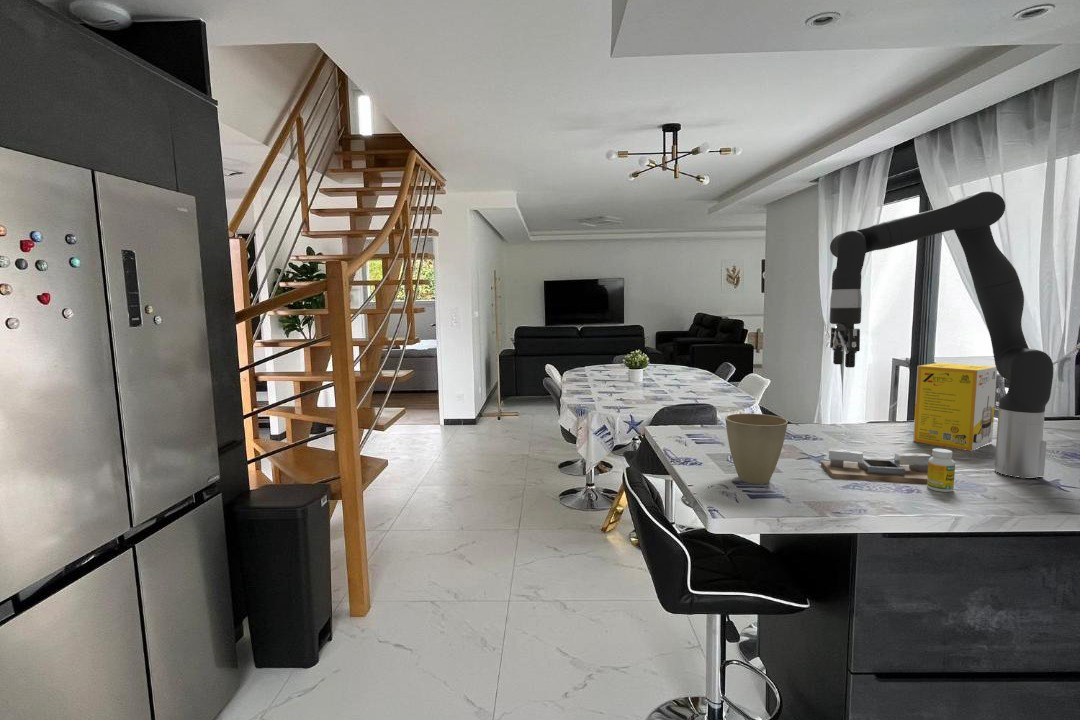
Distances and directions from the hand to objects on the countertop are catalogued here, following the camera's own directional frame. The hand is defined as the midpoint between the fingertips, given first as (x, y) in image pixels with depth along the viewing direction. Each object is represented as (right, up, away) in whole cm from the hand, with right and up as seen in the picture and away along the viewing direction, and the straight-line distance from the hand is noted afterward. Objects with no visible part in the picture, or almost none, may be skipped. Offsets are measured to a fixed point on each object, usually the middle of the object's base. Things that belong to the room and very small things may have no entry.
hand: (843, 365), depth 156 cm
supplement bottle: (+14, -30, -18) cm, 38 cm away
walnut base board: (+7, -29, -6) cm, 30 cm away
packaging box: (+51, -26, +29) cm, 64 cm away
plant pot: (-28, -30, -10) cm, 42 cm away
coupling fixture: (+7, -28, -6) cm, 29 cm away
